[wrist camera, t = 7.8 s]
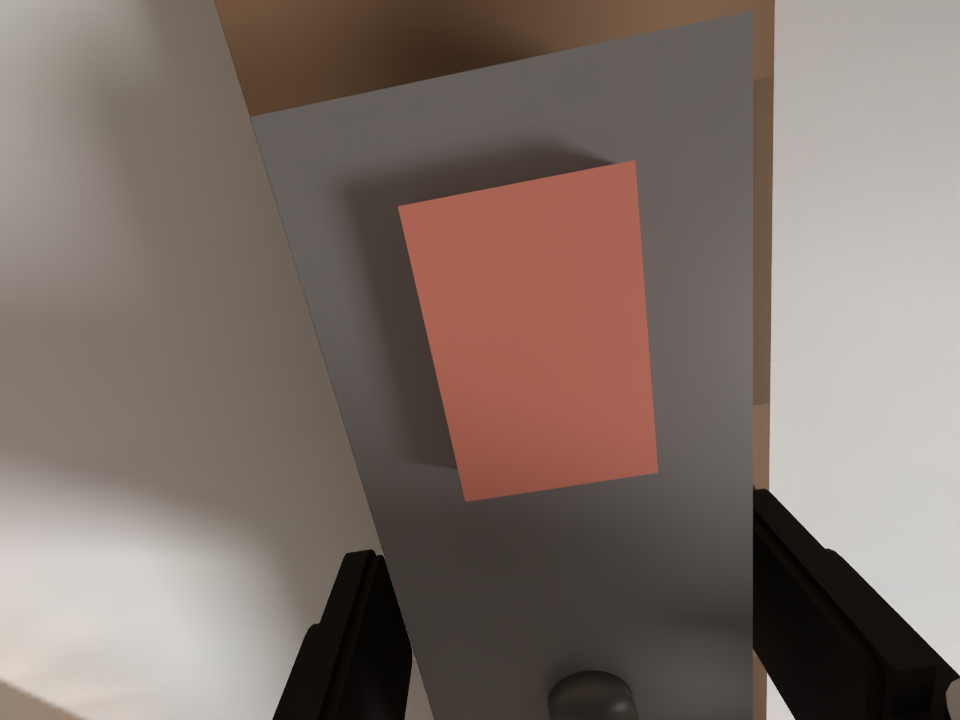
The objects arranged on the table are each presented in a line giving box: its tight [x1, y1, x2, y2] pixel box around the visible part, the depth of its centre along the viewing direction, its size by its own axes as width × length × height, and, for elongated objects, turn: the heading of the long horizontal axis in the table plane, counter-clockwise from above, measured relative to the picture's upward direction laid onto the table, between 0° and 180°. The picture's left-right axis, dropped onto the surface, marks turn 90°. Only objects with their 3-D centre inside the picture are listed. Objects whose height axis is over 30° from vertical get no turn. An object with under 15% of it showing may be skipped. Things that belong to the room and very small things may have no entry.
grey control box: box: [250, 11, 753, 720], centre depth 10 cm, size 4×18×7 cm, turn 10°
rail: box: [214, 0, 775, 720], centre depth 12 cm, size 8×30×2 cm, turn 10°
